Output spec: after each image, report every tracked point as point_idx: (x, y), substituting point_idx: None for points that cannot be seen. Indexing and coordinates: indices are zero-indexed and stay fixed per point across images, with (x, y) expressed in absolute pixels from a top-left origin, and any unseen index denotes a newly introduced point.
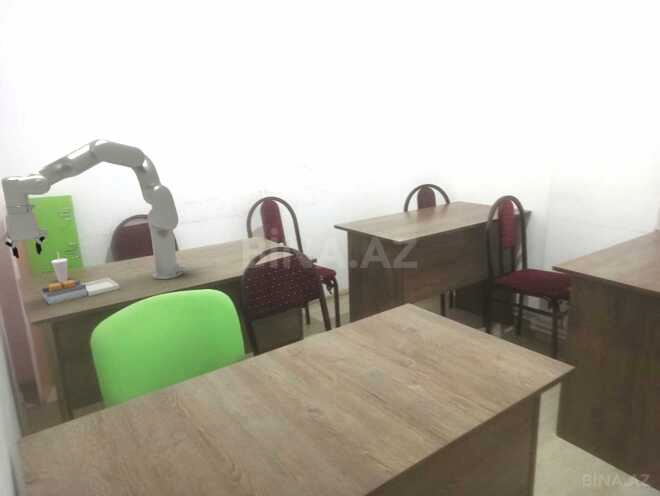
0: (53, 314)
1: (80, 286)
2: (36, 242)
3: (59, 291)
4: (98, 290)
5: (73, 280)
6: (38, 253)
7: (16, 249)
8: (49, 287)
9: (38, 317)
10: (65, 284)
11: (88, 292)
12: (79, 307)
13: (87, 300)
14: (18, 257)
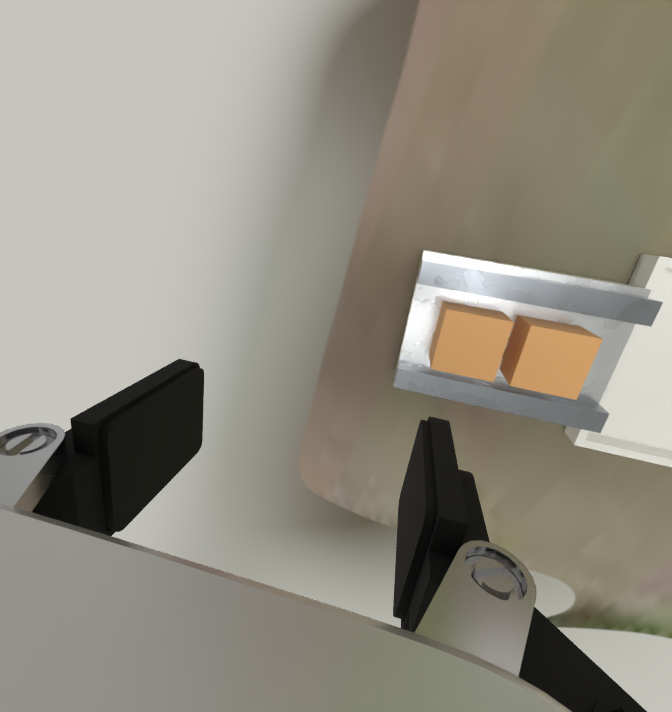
0: (354, 487)
1: (568, 425)
2: (422, 614)
3: (454, 399)
4: (624, 453)
5: (591, 365)
6: (399, 505)
7: (115, 526)
8: (437, 337)
9: (308, 468)
10: (515, 385)
11: (574, 436)
12: None
13: (521, 467)
14: (192, 453)
